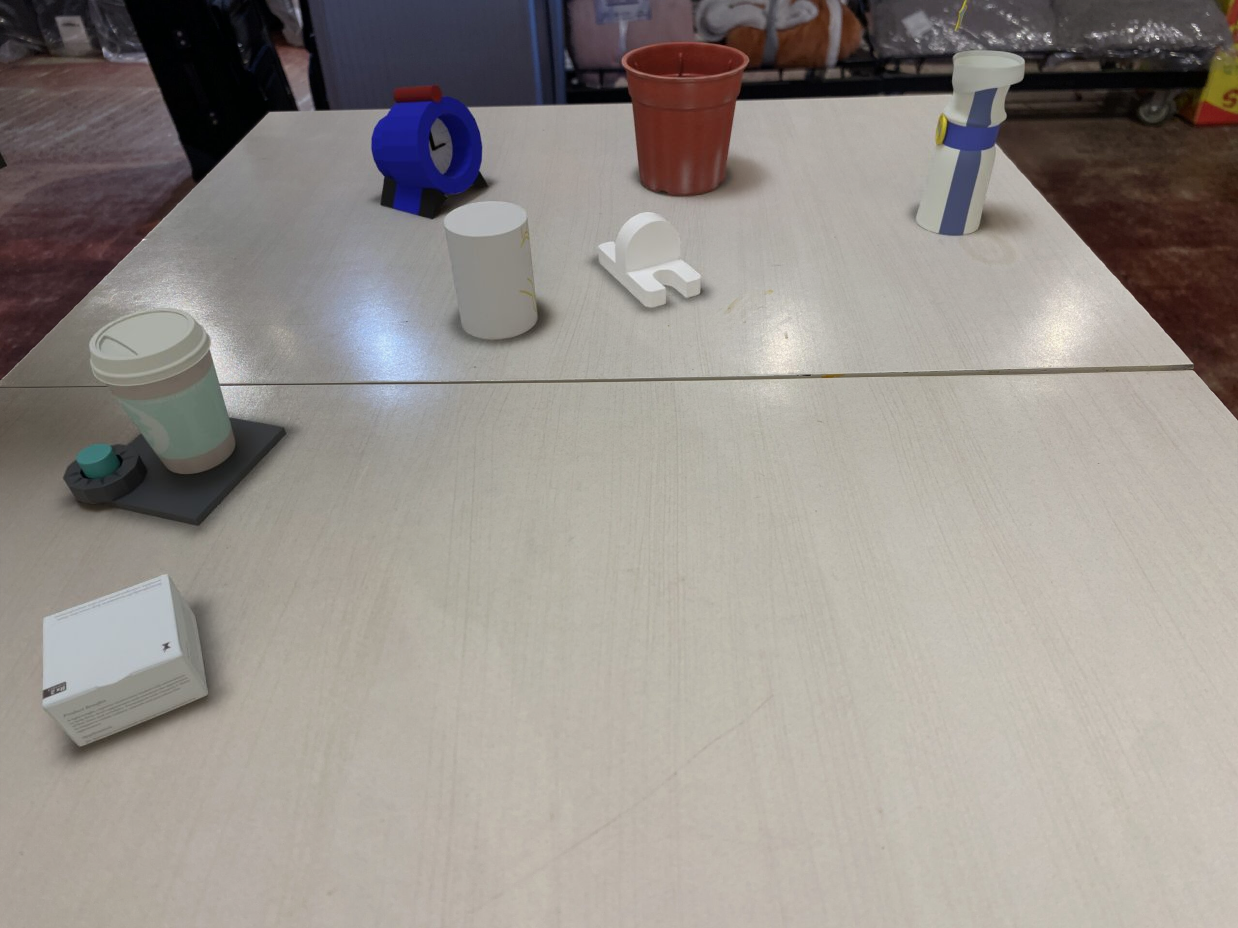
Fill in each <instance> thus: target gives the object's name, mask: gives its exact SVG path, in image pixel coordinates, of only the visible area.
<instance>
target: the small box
mask: <svg viewBox="0 0 1238 928" xmlns="http://www.w3.org/2000/svg"><path fill="white" fill-rule="evenodd" d="M198 628H199V627H198V623H197V620H196V615H195V613H194V611H192V609H191V607H190V606H189V605H188V603H187V601H186V600H185V598H184V596H183V595H182V593H181V592H180V590H179V588H178V587H177V585H176V584H175V581H173V579H172V577H171V576H170V574H169V573H163V574H161V575H159V576H155V577H153V578H151V579H149V580H145V581H143V582H140V583H137V584H133V585H132V586H129V587H126V588H123V589H121V590H120V589H119V590H118V591H115V592H112V593H109V594H107V595H106V594H105V595H103V596H101V597H97V598H95V599H92V600H90V601H87V602H84V603H81V604H78V605H76V606H73V607H70V608H67V609H64V610H62V611H59V612H56V613H53V614H50V615H47V616H44V617H43V619H42V687H41V688H42V690H41V691H42V692H41V699H42V700H41V709H42V710H43V711H44V712H45V713H46V714H47V715H48V716H49V717H50V718H52V720H53V721H54V722H55V723H56V724H57V725H58V726H59V727H60V728H61V729H62V730H63V731H64V733H66V735H67V736H68V737H69V738H70V739H71V740H72V741H73V742H74V744H76V745H77V747H84V746H86V745H89V744H91V743H95V742H97V741H99V740H102V739H104V738H107V737H109V736H112V735H115V734H117V733H119V732H122V731H124V730H127V729H130V728H132V727H134V726H137V725H139V724H142V723H144V722H147V721H149V720H151V719H154V718H156V717H159V716H161V715H164V714H166V713H169V712H171V711H174V710H175V709H178V708H181V707H183V706H185V705H187V704H190V703H192V702H195V701H197V700H199V699H202V698H204V697H206V696H208V695H209V690H208V683H207V676H206V671H205V665H204V658H203V652H202V646H201V640H200V634H199V629H198Z"/></svg>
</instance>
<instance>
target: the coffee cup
mask: <svg viewBox="0 0 1238 928" xmlns="http://www.w3.org/2000/svg"><path fill="white" fill-rule="evenodd" d="M211 346H212V338H211V336H210V334H209V333H208V332H207V330H206V328H205V327H204V326H203V325H201V323H199V322H198V321H197V320H196V318H194V317H193V315H192V314H191V313H189V312H187V311H185V310H182V309H179V308H173V307H159V308H158V307H157V308H148V309H144V310H140V311H136V312H132V313H129V314H126V315H123V316H121V317H119V318H116V319H114V320H112V321H110V322H108V323H107V324H105V325H104V326H102V327H101V328H100V329H98V331H96V332H95V333H94V334H93V336H92V337H91V338H90V341H89V344H88V348H89V354H90V356H89V364H90V368H91V370H92V374H93V376H94V378H96V379H97V380H98V381H100V382H102V383H104V384H105V385H106V387H107V388H108V390H109V391H110V392H111V394H112V395H113V397H114V398H115V399H116V401H117V402H118V403H119V405H120V406H121V408H122V409H123V410H124V412H125V413H126V414H127V416H128V417H129V419H130V420H131V421H132V423H133V425H135V427H136V428H137V429H138V431H139V433H140V434H142V435H143V436H144V438H145V439H146V441H147V442H148V443H149V445H150V446H151V448H152V449H153V450H154V452H155V453H156V454H157V456H158V457H159V458H160V460H161V461H162V462H163V464H164V465H165V466H166V468H167V469H168V470H170V471H172V472H175V473H179V474H193V473H199V472H203V471H206V470H209V469H211V468H214V467H216V466H217V465H219V464H221V463H222V462H224V461H225V460H226V459H227V458H228V457H229V456H230V455H231V454H232V452H233V451H234V449H235V444H236V443H235V438H234V435H233V431H232V427H231V423H230V420H229V417H230V416H229V413H228V410H227V405H226V401H225V399H224V395H223V391H222V387H221V384H220V380H219V377H218V373H217V370H216V366H215V363H214V360H213V355H212V352H211Z"/></svg>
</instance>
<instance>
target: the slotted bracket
mask: <svg viewBox="0 0 1238 928" xmlns="http://www.w3.org/2000/svg"><path fill="white" fill-rule="evenodd" d="M681 245H682V244H681V235H680V233H679V231H678V229H677V228H676V227H675V225H673V224H672V223H670V222H669V221H668V220H667V219H666V218H664V217H663V216H661V215H660V214H658V213H656V212H653V211H645V212H640V213H637V214H635V215H634V216H632V217H630V218H629V219H628V220H627V221H626V222H625V223H624V224H623V225H622V227H621V228H620V230H619V231H618V233H617V236H616V239H615V242H614V241H613V240H611V241H606V242H603V243H600V244H599V245H598V246H597V248H598V250H597V251H598V263H599V264H600V265H601V266H602V267H603V268H604V269H605V270H606V271H608V273H609V274H610V275H612V276H613V277H614V278H615V279H616V280H617V281H618V282H619V283H620V284H621V285H622V286H623V287H624V288H625V289H626V290H628V292H630V293H631V294H632V295H633V296H634V297H635V298H636V299H637V300H638V301H639V302H640V303H641V304H642V305H643V306H644V307H647V308H657V307H660V306H664V305H666V304H667V287H665V286H669V287H673V288H674V289H675V290H676V291H678V292H679V294H681V295H682V296H683V297H684V298H686V299H688V298H689V299H690V298H692V297H695V296H696V297H697V296H698V295H700V294H701V289H702V287H701V286H702V274H700V273H699V272H698V271H696V269H694V268H693V267H692V266H690V265H689V264H688V263H687V262H686V261H684V260H683V259H682V258H681Z"/></svg>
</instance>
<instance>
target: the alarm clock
mask: <svg viewBox="0 0 1238 928" xmlns="http://www.w3.org/2000/svg"><path fill="white" fill-rule="evenodd" d="M392 96H393V100H394V102H395V104H393V105H392V106H391V108H390V109H389V111H388V112H387V114H386V115H385V116H383V117H381V118H380V119H379V120H378V121H377V123H376V124H375V126H374V128H373V131H372V134H371V140H370V141H371V143H370V144H371V146H370V147H371V155H372V158H373V162H374V164H375V166H376V168H377V170H378V171H379V172H380V173H381V175H382V176H383V183H382V191H381V196H380V197H381V198H380V206H383V207H386V208H389V209H394V210H397V211H401V212H405V213H409V214H411V215H416V216H419V217H423V218H427V219H430V220H433V219H434V218H435V217H436V216H437V214H438V212H439V211H440V210H441V209H442V207H444V205H445V203H446V202H447V201H448V200H449V196H447V195H457V194H461V193H464V192H466V190H468V189H469V188H470V187H472V186H476V187H486V188H487V187H488V188H489V187H490V186H489V184H488V183H487V181H486V179H485V178H484V176H483V174H482V173H481V171H480V169H481V166H482V162H483V141H482V135H481V130H480V128H479V125H478V123H477V121H476V118H475V117H474V114H472V112H471V110H470V109H469V108H468V107H467V106H466V105H465V104H464V103H463V102H461V101H460V100H459V99H457V98H455V97H451V96H447V95H446V96H443V91H442V89H441V88H440V86H439V85H437V84H434V85H433V84H431V85H420V86H419V85H417V86H405V87H396V88H394V90H393V93H392Z"/></svg>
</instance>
